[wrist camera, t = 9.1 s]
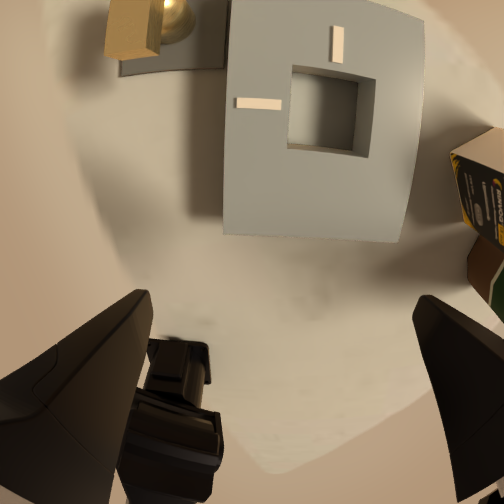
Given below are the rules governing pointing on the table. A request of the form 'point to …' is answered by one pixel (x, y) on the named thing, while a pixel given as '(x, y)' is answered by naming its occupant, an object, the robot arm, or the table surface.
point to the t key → (146, 27)
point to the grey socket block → (315, 157)
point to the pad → (190, 44)
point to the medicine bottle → (482, 184)
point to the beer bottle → (488, 274)
